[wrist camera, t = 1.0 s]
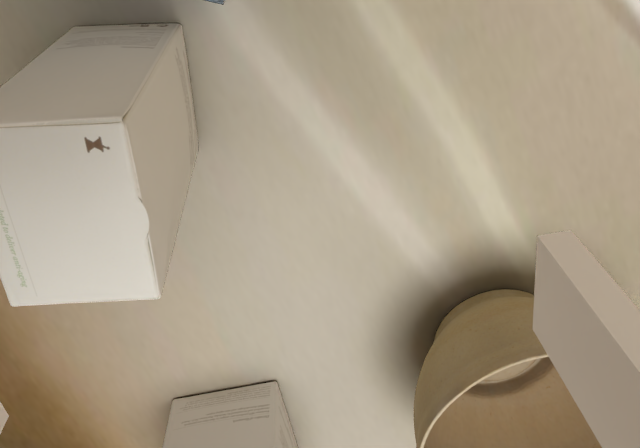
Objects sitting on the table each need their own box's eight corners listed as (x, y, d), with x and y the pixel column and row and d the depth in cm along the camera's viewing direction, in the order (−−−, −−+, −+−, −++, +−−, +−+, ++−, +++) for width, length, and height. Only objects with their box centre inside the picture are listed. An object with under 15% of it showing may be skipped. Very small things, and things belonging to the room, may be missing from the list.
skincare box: (73, 23, 34) (-69, 116, 20) (190, 20, 34) (127, 110, 21) (101, 160, 38) (0, 312, 25) (206, 156, 38) (163, 305, 25)
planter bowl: (395, 420, 51) (420, 542, 42) (387, 262, 43) (416, 368, 34) (584, 400, 51) (652, 518, 41) (611, 238, 43) (703, 338, 33)
